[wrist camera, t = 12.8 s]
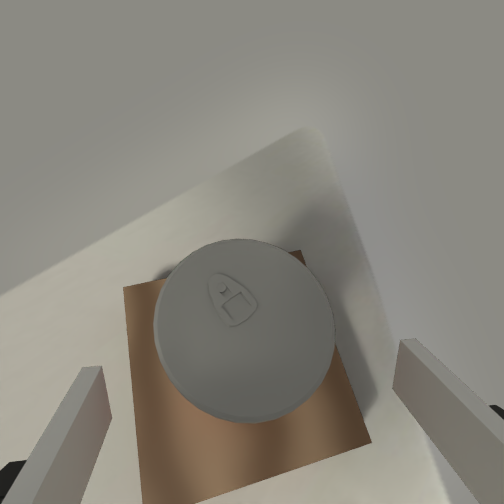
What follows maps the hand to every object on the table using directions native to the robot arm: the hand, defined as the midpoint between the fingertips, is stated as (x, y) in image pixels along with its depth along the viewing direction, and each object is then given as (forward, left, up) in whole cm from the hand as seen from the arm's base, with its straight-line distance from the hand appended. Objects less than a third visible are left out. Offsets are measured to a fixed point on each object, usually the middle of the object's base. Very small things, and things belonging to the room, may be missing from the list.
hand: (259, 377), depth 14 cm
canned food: (0, +2, -9) cm, 10 cm away
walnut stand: (0, +2, -13) cm, 13 cm away
